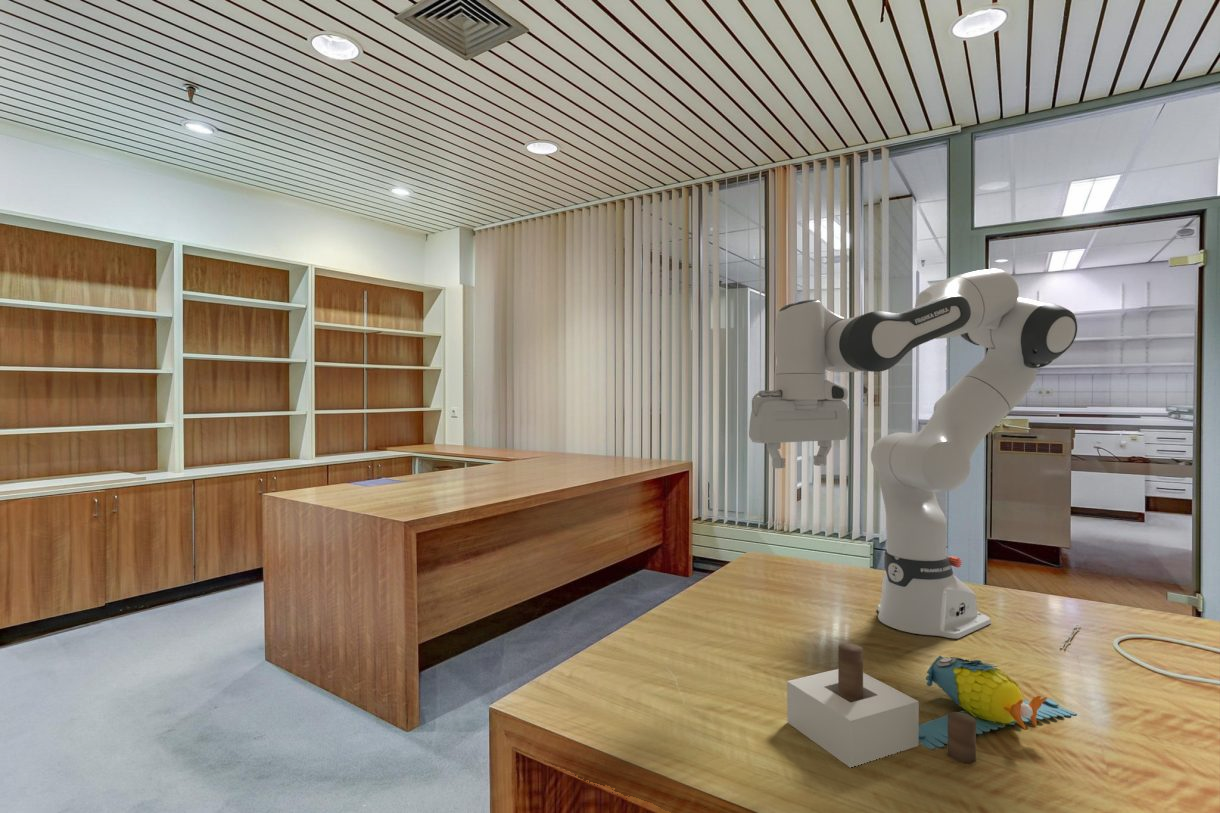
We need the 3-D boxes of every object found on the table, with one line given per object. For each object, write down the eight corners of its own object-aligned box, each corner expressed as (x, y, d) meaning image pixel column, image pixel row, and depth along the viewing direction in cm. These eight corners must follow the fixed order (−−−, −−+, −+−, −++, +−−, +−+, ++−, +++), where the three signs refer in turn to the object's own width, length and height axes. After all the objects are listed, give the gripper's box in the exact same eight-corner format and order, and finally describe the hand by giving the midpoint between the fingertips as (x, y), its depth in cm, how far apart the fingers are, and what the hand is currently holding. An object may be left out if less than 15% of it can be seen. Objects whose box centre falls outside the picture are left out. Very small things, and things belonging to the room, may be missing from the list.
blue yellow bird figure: (950, 700, 78) (866, 656, 93) (952, 769, 78) (867, 713, 93) (1103, 668, 87) (1004, 632, 102) (1104, 729, 87) (1005, 684, 102)
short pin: (958, 747, 82) (958, 710, 82) (981, 760, 79) (981, 721, 79) (941, 753, 81) (942, 715, 81) (964, 766, 78) (964, 727, 78)
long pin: (845, 725, 88) (845, 641, 88) (867, 734, 86) (867, 648, 85) (834, 733, 86) (834, 647, 86) (856, 743, 83) (856, 654, 83)
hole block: (850, 705, 94) (850, 665, 94) (918, 745, 83) (918, 701, 83) (787, 722, 89) (787, 681, 89) (850, 768, 78) (850, 720, 78)
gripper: (763, 390, 105) (764, 471, 105) (854, 390, 113) (854, 465, 113) (741, 390, 111) (741, 467, 111) (829, 390, 119) (829, 462, 119)
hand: (799, 466), depth 112 cm, fingers open, 8 cm apart
